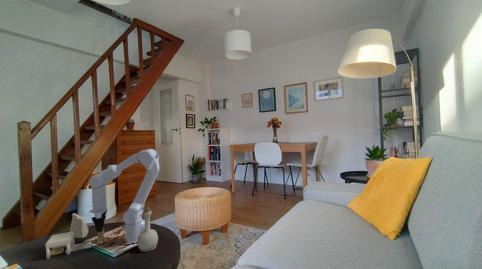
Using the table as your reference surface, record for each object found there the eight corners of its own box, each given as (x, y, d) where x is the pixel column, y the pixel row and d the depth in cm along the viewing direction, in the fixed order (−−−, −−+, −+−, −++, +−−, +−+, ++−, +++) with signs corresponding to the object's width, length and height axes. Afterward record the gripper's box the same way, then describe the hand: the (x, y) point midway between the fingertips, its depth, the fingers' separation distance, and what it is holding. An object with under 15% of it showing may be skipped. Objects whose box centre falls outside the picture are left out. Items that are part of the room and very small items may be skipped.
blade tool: (104, 240, 110) (104, 226, 110) (103, 244, 105) (103, 230, 105) (67, 248, 103) (67, 233, 103) (65, 252, 98) (64, 238, 98)
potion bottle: (151, 253, 95) (150, 210, 95) (132, 251, 97) (131, 209, 97) (162, 243, 104) (161, 204, 104) (145, 242, 106) (144, 203, 106)
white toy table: (74, 244, 106) (73, 231, 106) (70, 254, 97) (69, 239, 97) (52, 249, 102) (52, 235, 102) (46, 259, 93) (45, 244, 93)
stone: (89, 235, 116) (89, 212, 116) (79, 239, 111) (78, 216, 111) (77, 232, 120) (77, 210, 120) (67, 236, 116) (66, 213, 116)
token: (65, 249, 102) (65, 246, 102) (62, 254, 98) (62, 251, 98) (51, 252, 100) (51, 249, 100) (47, 257, 96) (47, 254, 96)
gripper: (91, 197, 111) (92, 225, 111) (87, 205, 98) (88, 236, 98) (107, 195, 115) (108, 222, 115) (106, 202, 102) (107, 232, 102)
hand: (100, 228), depth 107 cm, fingers open, 7 cm apart
